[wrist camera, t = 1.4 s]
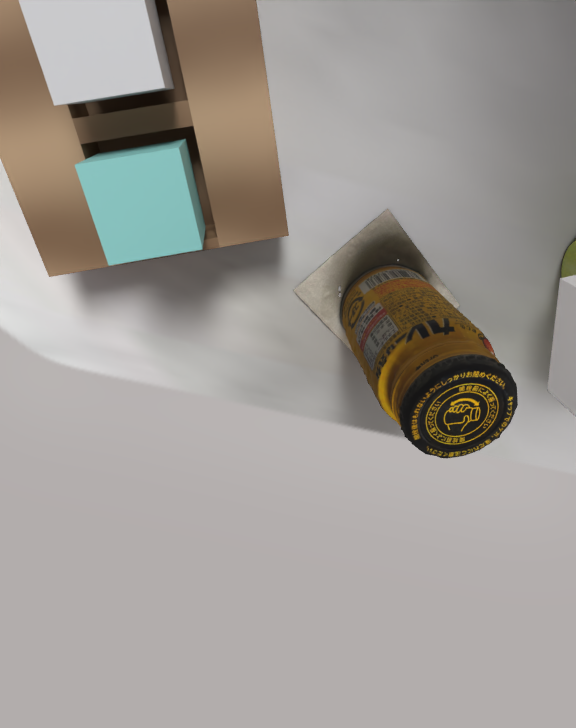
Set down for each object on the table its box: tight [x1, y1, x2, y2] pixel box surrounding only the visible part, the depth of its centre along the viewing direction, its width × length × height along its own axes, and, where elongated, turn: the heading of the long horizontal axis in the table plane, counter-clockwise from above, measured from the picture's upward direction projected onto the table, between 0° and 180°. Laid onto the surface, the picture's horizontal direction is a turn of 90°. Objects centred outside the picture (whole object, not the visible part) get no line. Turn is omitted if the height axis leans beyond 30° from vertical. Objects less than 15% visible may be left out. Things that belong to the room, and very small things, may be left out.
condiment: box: [293, 209, 518, 458], centre depth 26 cm, size 7×8×12 cm
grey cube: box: [19, 0, 174, 106], centre depth 18 cm, size 4×4×4 cm
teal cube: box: [75, 139, 206, 266], centre depth 21 cm, size 4×4×4 cm
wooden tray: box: [0, 0, 289, 277], centre depth 21 cm, size 18×12×4 cm, turn 8°
